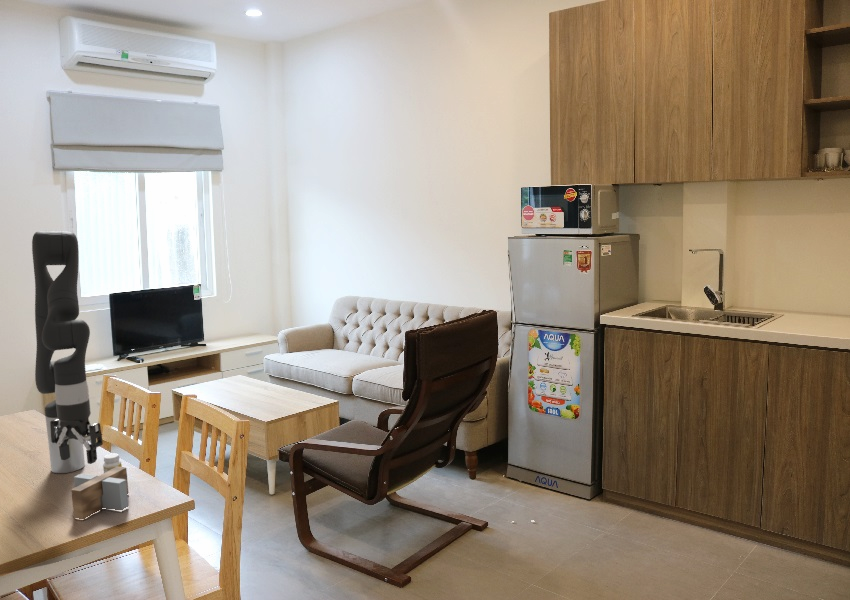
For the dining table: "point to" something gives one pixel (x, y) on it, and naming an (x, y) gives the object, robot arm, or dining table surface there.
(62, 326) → the robot arm
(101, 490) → the walnut plate
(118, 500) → the grey notched block
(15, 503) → the dining table surface
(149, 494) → the dining table surface
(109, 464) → the supplement bottle
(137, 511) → the dining table surface
